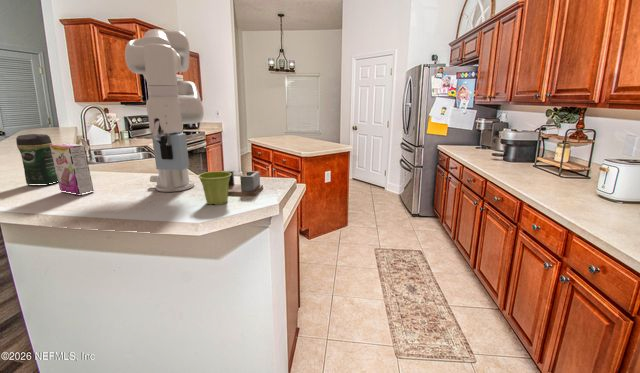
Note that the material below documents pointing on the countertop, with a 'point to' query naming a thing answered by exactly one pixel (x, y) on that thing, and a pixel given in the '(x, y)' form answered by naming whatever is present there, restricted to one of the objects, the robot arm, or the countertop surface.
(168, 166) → the door panel
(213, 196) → the plant pot
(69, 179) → the candy bar box
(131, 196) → the countertop surface
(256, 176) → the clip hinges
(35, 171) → the coffee jar
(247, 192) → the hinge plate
